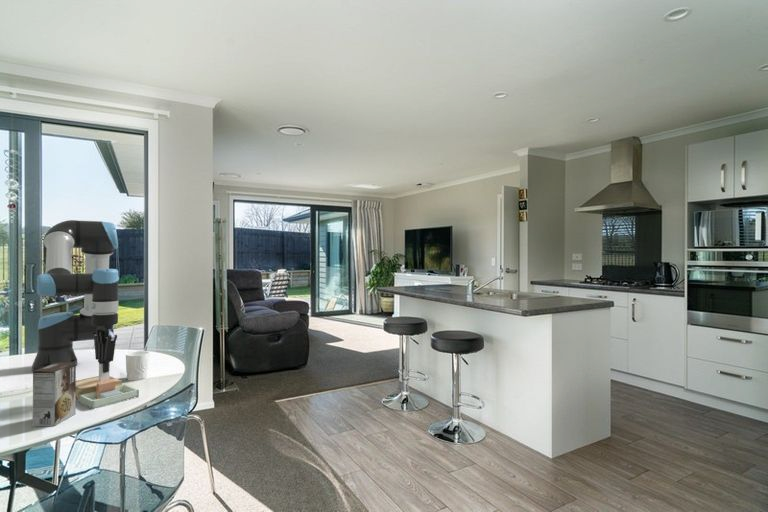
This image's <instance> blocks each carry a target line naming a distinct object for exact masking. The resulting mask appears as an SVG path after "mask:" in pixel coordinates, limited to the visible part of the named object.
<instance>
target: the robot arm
mask: <svg viewBox="0 0 768 512" xmlns="http://www.w3.org/2000/svg"><path fill="white" fill-rule="evenodd" d="M118 241H119V239H118V234H117V228H116V225H115V224H114V223H113V222H110V221H109V222H108V221H107V222H106V221H101V220H100V221H99V220H76V219H75V220H74V219H70V220H69V219H68V220H65V221H64V220H63V221H61V222H58V223H56V224H54V225H52V226H51V227H50V228H49V229H48V230H47V231H46V232H45V234H44V237H43V245H44V247H45V248H46V253H45V254H46V255H45V271H44V272H45V273H41V274H38V275H37V280H36V281H37V282H36V294H37V295H38V296H42V297H45V296H46V297H47V296H48V297H56V296H57V297H58V296H75V295H76V296H80V295H81V296H84V297H83V299H84V300H83V308H81V309H80V310H79V314H74V312H73V311H64V312H57V313H56V312H55V313H51V314H47V315H43V316H42V317H40V318H39V320H38V325H37V326H38V327H37V330H38V331H37V332H38V335H37V340H38V341H37V353H36V355H35V358H34V360H33V363H32V365H31V366H32V368H31V371H32V372H33V371H35V370H37V369H40V368H43V367H45V366H48V365H50V364H53V363H76V367H77V366H78V357H77V355H76V353H75V351H74V347H73V346H74V345H73V343H74V342H83V341H84V342H85V341H93V342H94V343H93V344H94V354H95V356H94V357H95V360H96V361H97V362H98V376H99V382H103V381H107V380H109V376H110V367H111V366H110V364H111V362H113V361H114V357H115V351H116V350H115V349H116V341H117V339H118V334H114V329H115V325H117V324H118V323H119V314H118V312H119V281H120V277H119V270H118V269H117V268H110V256H112V255H113V254H114V253H115V250H116V249H117V250H118V248H119V242H118ZM73 248H75V249H80V250H81V253H82V254H83V255H84V256H85V258H84V259H85V260H84V261H85V262H84V263H85V264H84V265H85V266H84V273H73V268H72V267H73V265H72V264H73V262H72V261H73V260H72V259H73V258H72V254H73V253H72V249H73Z"/></svg>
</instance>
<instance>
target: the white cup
mask: <svg viewBox="0 0 768 512" xmlns="http://www.w3.org/2000/svg"><path fill="white" fill-rule="evenodd" d="M149 354H150V353H149V351H148V350H147V351H145V350H137V351H131V352H127V353H126V354H125V370H126V371H125V372H126V380H127V381H129V382H130V381H132V382H134V381H135V380H136V381H142V380H145V379H146V378H147V377H148V369H149V368H148V367H149ZM136 381H135V382H136Z"/></svg>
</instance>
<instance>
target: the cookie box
mask: <svg viewBox="0 0 768 512" xmlns="http://www.w3.org/2000/svg"><path fill="white" fill-rule="evenodd" d="M76 370H77V366H76V363H53V364H50V365H48V366H45V367H43V368H40V369H37V370H35V371H32V424H31V425H32V427H56V426H57V425H59V424H60V423H62V422H64V421H66V420H67V419H69V418H71V417H73V416H74V415H76V410H77V408H76V405H77V404H76V402H77V401H76V381H77V379H76V378H77V375H76Z"/></svg>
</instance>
